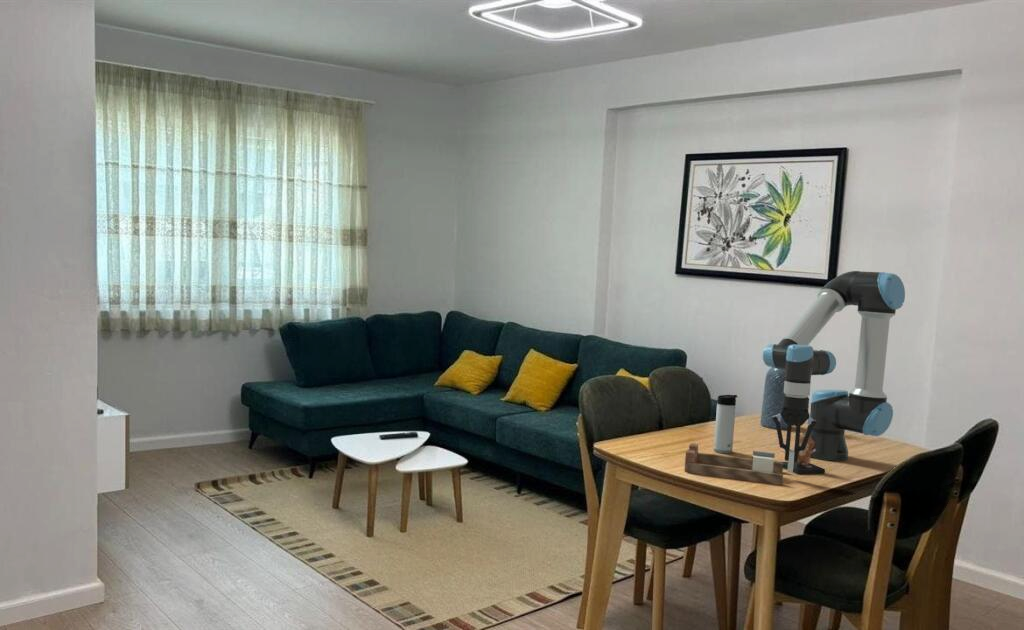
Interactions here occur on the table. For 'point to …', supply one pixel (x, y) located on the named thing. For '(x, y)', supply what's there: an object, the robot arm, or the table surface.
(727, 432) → the travel mug
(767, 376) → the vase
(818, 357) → the robot arm
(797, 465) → the figurine
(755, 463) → the block
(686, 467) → the guide
